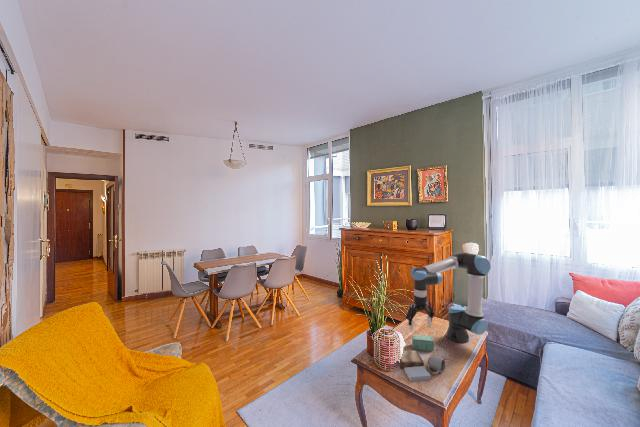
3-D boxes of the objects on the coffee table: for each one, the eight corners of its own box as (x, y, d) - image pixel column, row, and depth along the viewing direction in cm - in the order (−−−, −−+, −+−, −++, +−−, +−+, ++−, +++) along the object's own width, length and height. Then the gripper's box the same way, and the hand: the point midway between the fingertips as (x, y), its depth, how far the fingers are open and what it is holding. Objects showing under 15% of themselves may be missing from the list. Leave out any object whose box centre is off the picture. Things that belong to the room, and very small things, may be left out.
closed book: (423, 369, 163) (423, 365, 163) (430, 379, 154) (430, 375, 154) (404, 371, 162) (404, 367, 162) (410, 381, 153) (410, 377, 153)
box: (433, 351, 183) (433, 340, 183) (413, 349, 186) (413, 339, 186) (431, 345, 190) (431, 335, 190) (411, 344, 193) (411, 334, 193)
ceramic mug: (432, 363, 169) (432, 351, 169) (445, 369, 163) (445, 357, 163) (424, 371, 162) (424, 359, 162) (438, 377, 156) (438, 365, 156)
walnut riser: (416, 356, 178) (416, 349, 178) (424, 369, 164) (424, 362, 164) (395, 356, 178) (395, 349, 178) (401, 369, 165) (400, 362, 164)
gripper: (432, 291, 177) (432, 323, 178) (399, 295, 170) (400, 328, 171) (440, 295, 170) (440, 327, 171) (407, 299, 163) (407, 334, 164)
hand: (420, 328), depth 171 cm, fingers open, 13 cm apart
